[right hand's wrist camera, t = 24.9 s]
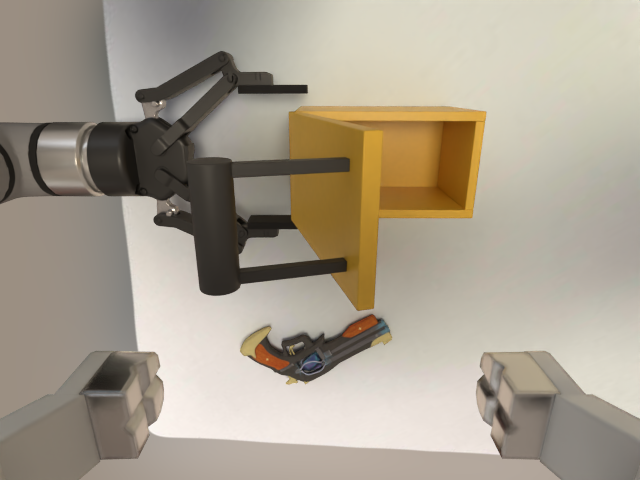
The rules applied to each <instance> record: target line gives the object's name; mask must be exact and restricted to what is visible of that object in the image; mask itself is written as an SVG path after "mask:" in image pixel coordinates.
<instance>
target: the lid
mask: <svg viewBox="0 0 640 480" xmlns="http://www.w3.org/2000/svg"><path fill="white" fill-rule="evenodd" d="M289 143H290V159H286V160H262V161H239V162H232V160H231V159H228V158H219V157H209V158H197V159H192V160H188V161H187V162H186V167H187V177H188V186H189V195H190V204H191V213H192V222H193V232H194V241H195V250H196V259H197V268H198V277H199V287H200V290H201V292H202V293H204V294H207V295H212V296H220V295H226V294H230V293H233V292H235V291H236V290H238V289H239V288H240V286H241V284H246V283H254V282H263V281H271V280H280V279H288V278H297V277H305V276H314V275H322V274H331V275H332V276H333V278H334V279H335V281H336V282H337V283H338V285H339V286H340V287H341V289H342V290H343V292H344V293H345V294H346V296H347V297H348V298H349V300H350V301H351V303H352V304H353V305H354V307H355V308H356V309H357V310H358V311H360V310H367V309H373V308H374V297H375V278H376V259H377V240H378V221H379V203H380V184H381V165H382V146H383V130H380V129H376V128H371V127H367V126H362V125H358V124H353V123H349V122H344V121H340V120H335V119H331V118H326V117H322V116H317V115H313V114H308V113H304V112H289ZM277 175H290V186H291V220H292V221H293V223H294V224H295V226H296V227H297V228H298V230H299V231H300V232H301V234H302V235H303V237H304V238H305V239H306V241H307V242H308V243H309V245H310V246H311V248H312V249H313V250H314V252H315V253H316V254H317V256H318V257H319V259H320V260H314V261H304V262H295V263H286V264H277V265H267V266H258V267H249V268H240V267H239V252H238V238H237V224H236V210H235V196H234V182H233V178H238V177H258V176H277Z"/></svg>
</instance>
